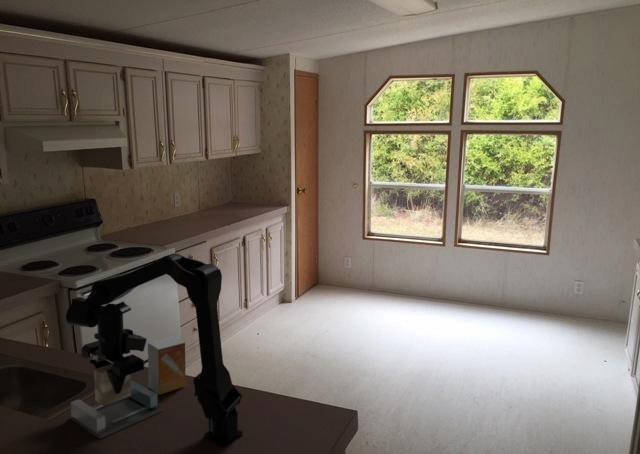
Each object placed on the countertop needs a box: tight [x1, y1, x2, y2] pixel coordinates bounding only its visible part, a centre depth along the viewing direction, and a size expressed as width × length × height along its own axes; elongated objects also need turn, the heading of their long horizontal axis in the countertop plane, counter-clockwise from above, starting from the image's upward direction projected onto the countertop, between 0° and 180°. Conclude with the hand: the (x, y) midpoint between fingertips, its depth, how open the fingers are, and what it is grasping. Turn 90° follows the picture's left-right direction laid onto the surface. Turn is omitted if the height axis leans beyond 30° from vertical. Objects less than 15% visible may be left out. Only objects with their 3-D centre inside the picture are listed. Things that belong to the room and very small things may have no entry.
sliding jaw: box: [129, 380, 159, 409], centre depth 130 cm, size 12×2×3 cm, turn 52°
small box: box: [147, 335, 186, 396], centre depth 139 cm, size 8×6×13 cm
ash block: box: [93, 363, 131, 406], centre depth 123 cm, size 4×7×8 cm, turn 142°
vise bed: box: [69, 397, 164, 440], centre depth 125 cm, size 14×16×4 cm
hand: (113, 390), depth 123 cm, fingers closed on ash block, 4 cm apart
